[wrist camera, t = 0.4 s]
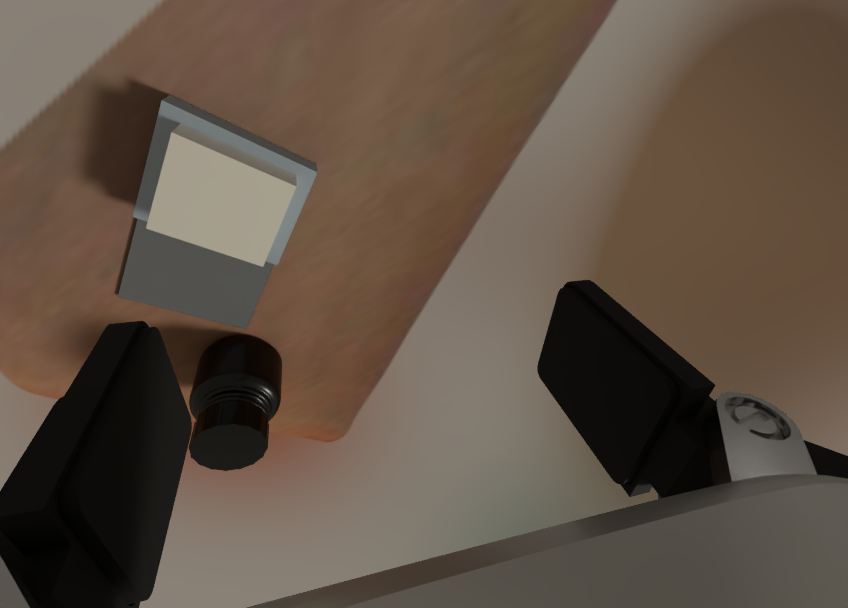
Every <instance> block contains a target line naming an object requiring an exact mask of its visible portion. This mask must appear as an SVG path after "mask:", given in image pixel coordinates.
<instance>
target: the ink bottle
mask: <svg viewBox="0 0 848 608" xmlns="http://www.w3.org/2000/svg"><path fill="white" fill-rule="evenodd" d="M281 380H282V360H281V357H280V355H279V353H278V352H277V350H276V349H275V348H274V347H272V346H271V345H270V344H268V343H266V342H264V341H262V340H259V339H256V338H253V337H247V336H231V337H226V338H223V339H220V340H218V341H216V342H215V343H213V344H212V345H210V346H209V347H208V348H207V349H206V350H205V352H204V353H203V355H202V356H201V359H200V362H199V365H198V369H197V373H196V376H195V380H194V383H193V387H192V391H191V394H190V399H189V406H190V410H191V413H192V415H193V416H194V418H195V419H196V422H195V424H194V428H193V432H192V436H191V440H190V444H189V450H190V453H191V458H193V459H194V460H195V461H196V462H197V463H198V464H199V465H202V466H205V467H207V468H210V469H217V470H224V471H228V470H234V469H241V468H244V467H246V466H249V465H252V464H254V463H255V462H256V461H258V460H259V459H260V458H262V457H263V456H264V453H265V451H266V450H267V448H268V433H269V421H270V420H271V419H272V418H273V417H274V415H275V414H276V412H277V411H278V408H279V406H280V401H281Z"/></svg>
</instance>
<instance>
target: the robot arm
mask: <svg viewBox="0 0 848 608" xmlns="http://www.w3.org/2000/svg"><path fill="white" fill-rule="evenodd" d="M538 374H539V377H540V378H541V380H542V381H543V383H544V384H545V386H546V387H547V388H548V390H549V391H550V393H551V394H552V395H553V397H554V398H555V400H556V401H557V402H558V404H559V405H560V407H561V408H562V409H563V411H564V412H565V413H566V415H567V416H568V418H569V419H570V420H571V422H572V424H573V425H574V426H575V428H576V429H577V430H578V432H579V433H580V435H581V436H582V437H583V439H584V440H585V442H586V443H587V445H588V446H589V447H590V449H591V450H592V451H593V453H594V454H595V456H596V457H597V459H598V460H599V461H600V463H601V464H602V466H603V467H604V468H605V470H606V471H607V473H608V474H609V475H610V477H611V478H612V479H613V481H615V482H616V483H618V484H621V486H622V487H623V488H624V490H625V491H626V492H627V494H628V495H629V497H632V496H636V495H639V494H643V493H647V492H649V491H650V490H651V488H652V486H653V488H654V489H655V490H656V491H657V493H658V500H654V501H650V502H646V503H642V504H638V505H634V506H631V507H627V508H623V509H619V510H615V511H611V512H607V513H603V514H599V515H595V516H591V517H587V518H584V519H580V520H576V521H572V522H568V523H564V524H560V525H556V526H553V527H549V528H545V529H541V530H537V531H533V532H530V533H526V534H522V535H518V536H514V537H510V538H507V539H503V540H499V541H496V542H491V543H488V544H484V545H480V546H476V547H472V548H468V549H465V550H461V551H457V552H453V553H450V554H446V555H442V556H438V557H434V558H430V559H427V560H423V561H419V562H415V563H412V564H408V565H405V566H400V567H397V568H393V569H389V570H385V571H382V572H378V573H374V574H370V575H367V576H363V577H360V578H355V579H352V580H348V581H344V582H340V583H337V584H333V585H330V586H325V587H322V588H318V589H314V590H311V591H307V592H303V593H299V594H296V595H292V596H288V597H284V598H281V599H277V600H273V601H270V602H266V603H262V604H258V605H255V606H251V607H248V608H848V456H846V455H843V454H840V453H838V452H835V451H832V450H829V449H827V448H824V447H821V446H818V445H815V444H813V443H810V442H807V441H805V440H803V438H802V435H801V433H800V431H799V429H798V427H797V426H796V424H795V423H794V421H793V420H792V419H791V418H790V417H789V416H787V414H786V413H784V412H783V411H781V410H780V409H778V408H777V407H776V406H774V405H772V404H771V403H769V402H767V401H765V400H763V399H761V398H758V397H755V396H753V395H750V394H746V393H741V392H726V393H723V394H721V395H720V396H719V397H718V398H717V399H716V401H714V400H713V399H712V398H710V397H709V395H710V393H711V391H712V390H713V388H714V387H715V384H714V383H712V382H711V381H710V380H709V379H708V378H706V377H705V376H704V375H703V374H702V373H700V372H699V371H698V370H697V369H696V368H694V367H693V366H692V365H691V364H689V362H687V361H686V360H685V359H684V358H683V357H681V356H680V355H679V354H678V353H677V352H676V351H674V350H673V349H672V348H671V347H670V346H668V345H667V344H666V343H665V342H664V341H662V340H661V339H660V338H659V337H658V336H657V335H655V334H654V333H653V332H652V331H651V330H649V329H648V328H647V327H646V326H645V325H643V324H642V323H641V322H640V321H639V320H637V319H636V318H635V317H634V316H632V314H630V313H629V312H628V311H627V310H626V309H625V308H623V307H622V306H621V305H620V304H619V303H617V302H616V301H615V300H614V299H613V298H611V297H610V296H609V295H608V294H607V293H606V292H604V291H603V290H602V289H601V288H600V287H598V286H597V285H596V284H595V283H594V282H592V281H590V280H583V281H571V282H568V283H566V284H565V285H564V287H563V288H561V289H560V290H559V292H558V295H557V299H556V303H555V306H554V309H553V313H552V317H551V320H550V323H549V327H548V331H547V334H546V338H545V341H544V344H543V348H542V352H541V355H540V359H539V362H538ZM191 424H192V423H191V417H190V414H189V411H188V408H187V406H186V403H185V400H184V397H183V395H182V392H181V389H180V386H179V384H178V381H177V378H176V376H175V373H174V370H173V367H172V365H171V362H170V359H169V356H168V354H167V351H166V348H165V346H164V343H163V340H162V337H161V335H160V332H159V330H158V329H157V328H156V327H148V325H147V324H146V323H145V322H144V321H137V322H126V323H115V324H110V325H108V326H107V327H106V328H105V330H104V332H103V333H102V335H101V337H100V338H99V340H98V342H97V343H96V345H95V346H94V348H93V350H92V351H91V353H90V355H89V356H88V358H87V360H86V361H85V363H84V365H83V366H82V368H81V369H80V371H79V373H78V374H77V376H76V378H75V379H74V381H73V383H72V384H71V386H70V387H69V389H68V391H67V392H66V394H65V396H64V397H62V398H60V399H59V400H58V401H57V402H56V403H55V405H54V406H53V407H52V409H51V411H50V412H49V414H48V415H47V417H46V419H45V420H44V422H43V424H42V425H41V427H40V428H39V430H38V431H37V433H36V435H35V436H34V438H33V439H32V441H31V443H30V444H29V446H28V447H27V449H26V451H25V452H24V454H23V456H22V457H21V459H20V460H19V462H18V464H17V465H16V467H15V468H14V470H13V472H12V473H11V475H10V476H9V478H8V480H7V481H6V483H5V484H4V486H3V488H2V489H1V491H0V608H139V604H140V602H141V601H145V600H147V599H149V597H150V596H151V594H152V591H153V588H154V584H155V580H156V576H157V571H158V567H159V563H160V559H161V555H162V551H163V547H164V543H165V538H166V534H167V530H168V526H169V522H170V518H171V514H172V510H173V505H174V501H175V497H176V493H177V489H178V485H179V481H180V477H181V473H182V468H183V464H184V460H185V455H186V452H187V448H188V444H189V440H190V435H191V428H192V425H191Z"/></svg>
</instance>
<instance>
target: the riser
mask: <svg viewBox="0 0 848 608" xmlns="http://www.w3.org/2000/svg"><path fill="white" fill-rule="evenodd" d="M181 123H182V124H184V125H186V126H188V127H190V128H193V129H195V130H197V131H199V132H202V133H204V134H206V135H208V136H210V137H213V138H215V139H217V140H219V141H222V142H224V143H226V144H228V145H231V146H233V147H235V148H237V149H239V150H242V151H244V152H246V153H248V154H251V155H253V156H255V157H257V158H259V159H262V160H264V161H266V162H268V163H271V164H273V165H275V166H277V167H280V168H282V169H284V170H286V171H288V172H291V173H293V174H295V175H296V178H297V187H296V189H295V192H294V194H293V196H292V199H291V201H290V204H289V206H288V208H287V211H286V213H285V216H284V218H283V220H282V223H281V225H280V228H279V230H278V232H277V235H276V237H275V240H274V242H273V244H272V247H271V249H270V252H269V254H268V256H267V259H266V262H269V263H272V264H275V265H278V262H279V260H280V258H281V256H282V253H283V251H284V249H285V246H286V244H287V242H288V239H289V237H290V235H291V232H292V230H293V228H294V226H295V223H296V221H297V219H298V216H299V214H300V212H301V209H302V207H303V205H304V202H305V200H306V198H307V196H308V193H309V191H310V189H311V186H312V184H313V182H314V179H315V177H316V175H317V165H316V164H315V163H313V162H311V161H309V160H307V159H305V158H302V157H300V156H298V155H296V154H294V153H292V152H290V151H288V150H285V149H283V148H281V147H279V146H277V145H275V144H273V143H271V142H269V141H266V140H264V139H262V138H260V137H258V136H256V135H254V134H252V133H250V132H247V131H245V130H243V129H241V128H239V127H237V126H235V125H233V124H231V123H228V122H226V121H224V120H222V119H220V118H218V117H216V116H214V115H211V114H209V113H207V112H205V111H203V110H201V109H199V108H197V107H195V106H192V105H190V104H188V103H186V102H184V101H182V100H180V99H178V98H176V97H173V96H171V95H169V96H167V97H166V98H164V99H163V100H162V101H161V105H160V109H159V113H158V117H157V121H156V125H155V129H154V133H153V137H152V141H151V145H150V149H149V153H148V157H147V161H146V165H145V169H144V173H143V178H142V182H141V186H140V190H139V194H138V198H137V202H136V206H135V210H134V214H133V217H134V218H137V219H140V220H143V221H146V222H148V218H149V215H150V211H151V207H152V203H153V200H154V196H155V192H156V188H157V185H158V181H159V177H160V173H161V170H162V166H163V162H164V158H165V155H166V151H167V147H168V143H169V140H170V136H171V132H172V131H173V130H174V129H175V128H176V127H177V126H178V125H179V124H181Z"/></svg>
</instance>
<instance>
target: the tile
mask: <svg viewBox="0 0 848 608" xmlns="http://www.w3.org/2000/svg"><path fill="white" fill-rule="evenodd" d="M296 187H297V178H296V175H295V174H293V173H291V172H288V171H286V170H284V169H282V168H280V167H277V166H275V165H273V164H271V163H268V162H266V161H264V160H262V159H259V158H257V157H255V156H253V155H251V154H248V153H246V152H244V151H242V150H239V149H237V148H235V147H233V146H231V145H228V144H226V143H224V142H222V141H219V140H217V139H215V138H213V137H210V136H208V135H206V134H204V133H202V132H199V131H197V130H195V129H193V128H190V127H188V126H186V125H184V124H182V123H181V124H179V125H178V126H177V127H176V128H175V129H174V130H173V131H172V132H171V136H170V140H169V143H168V147H167V151H166V155H165V158H164V162H163V166H162V170H161V173H160V177H159V181H158V185H157V188H156V192H155V196H154V200H153V203H152V207H151V211H150V215H149V218H148V222H147V226H146V229H149V230H152V231H155V232H158V233H161V234H164V235H167V236H170V237H173V238H176V239H179V240H183V241H186V242H189V243H192V244H195V245H198V246H201V247H204V248H207V249H210V250H213V251H216V252H219V253H222V254H225V255H228V256H231V257H234V258H237V259H240V260H243V261H246V262H250V263H253V264H256V265H259V266H262V267H263V266H264V264H265V261H266V259H267V256H268V254H269V252H270V249H271V247H272V244H273V242H274V240H275V237H276V235H277V232H278V230H279V228H280V225H281V223H282V220H283V218H284V216H285V213H286V211H287V208H288V206H289V204H290V201H291V199H292V196H293V194H294V192H295V189H296Z"/></svg>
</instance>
